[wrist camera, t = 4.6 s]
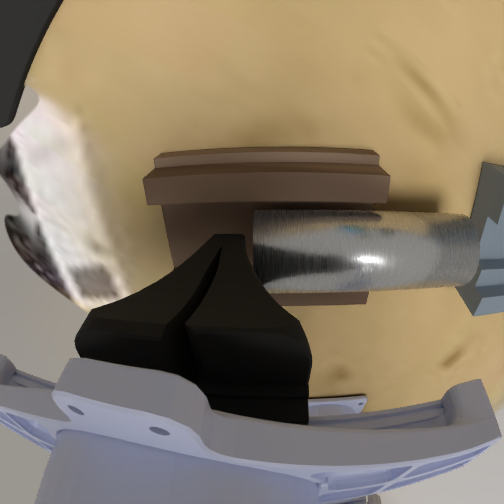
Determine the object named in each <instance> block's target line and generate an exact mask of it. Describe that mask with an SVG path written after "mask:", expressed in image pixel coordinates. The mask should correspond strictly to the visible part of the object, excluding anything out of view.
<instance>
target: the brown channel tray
mask: <svg viewBox="0 0 504 504" xmlns="http://www.w3.org/2000/svg"><path fill="white" fill-rule="evenodd" d="M379 157H380V156H379V155H378V154H377V153H376V152H374V151H373V150H361V149H345V148H321V147H246V148H222V149H206V150H192V151H180V152H169V153H161V154H160V155H158V156H157V157H156V158H154V164H155V169H154V170H152V171H151V172H150V173H149V174H148V175H147V176H145V177H144V178H143V184H144V189H145V195H146V200H147V205H162V211H163V216H164V221H165V227H166V232H167V237H168V241H169V246H170V251H171V255H172V260H173V265H174V269H173V270H175V269H176V268H177V267H178V266H180V265H181V264H182V263H183V262H184V261H186V260H187V259H188V258H189V257H190V256H192V255H193V254H194V253H195V252H196V251H197V250H198V249H199V248H200V247H201V246H202V245H203V244H204V243H206V242H207V241H208V240H209V239H210V238H211V237H212V236H213V235H214V234H243V235H244V236H245V243H246V252H247V255H248V258H249V261H250V263H251V265H252V267H253V224H254V212H255V210H372V211H373V209H374V203H387V198H388V191H389V183H390V175H389V174H388V173H387V172H386V171H384V170H383V169H382V168H381V167H380V166H379ZM269 294H270V295H271V296H272V297H273V298H274V299H275V300H276V302H277V303H278V304H279V305H280V306H312V305H353V304H366V301H367V297H368V294H369V291H363V292H331V293H269Z"/></svg>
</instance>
